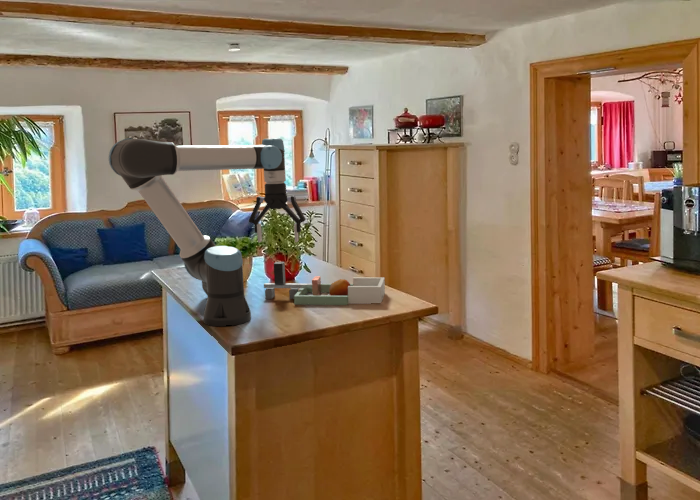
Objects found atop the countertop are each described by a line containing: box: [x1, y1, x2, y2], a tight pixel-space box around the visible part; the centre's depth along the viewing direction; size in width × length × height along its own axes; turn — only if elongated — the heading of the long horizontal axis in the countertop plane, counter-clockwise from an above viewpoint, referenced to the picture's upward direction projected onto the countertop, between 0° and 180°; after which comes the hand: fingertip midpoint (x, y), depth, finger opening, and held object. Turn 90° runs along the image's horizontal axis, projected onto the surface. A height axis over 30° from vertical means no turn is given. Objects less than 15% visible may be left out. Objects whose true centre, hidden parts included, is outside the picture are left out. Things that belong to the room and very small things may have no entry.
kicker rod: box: [263, 261, 322, 296], centre depth 231 cm, size 20×6×12 cm, turn 82°
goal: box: [348, 276, 386, 305], centre depth 228 cm, size 12×14×6 cm
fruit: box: [328, 278, 351, 296], centre depth 230 cm, size 8×8×8 cm
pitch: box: [264, 283, 353, 306], centre depth 231 cm, size 31×18×3 cm, turn 82°
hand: (278, 241), depth 230 cm, fingers open, 13 cm apart
